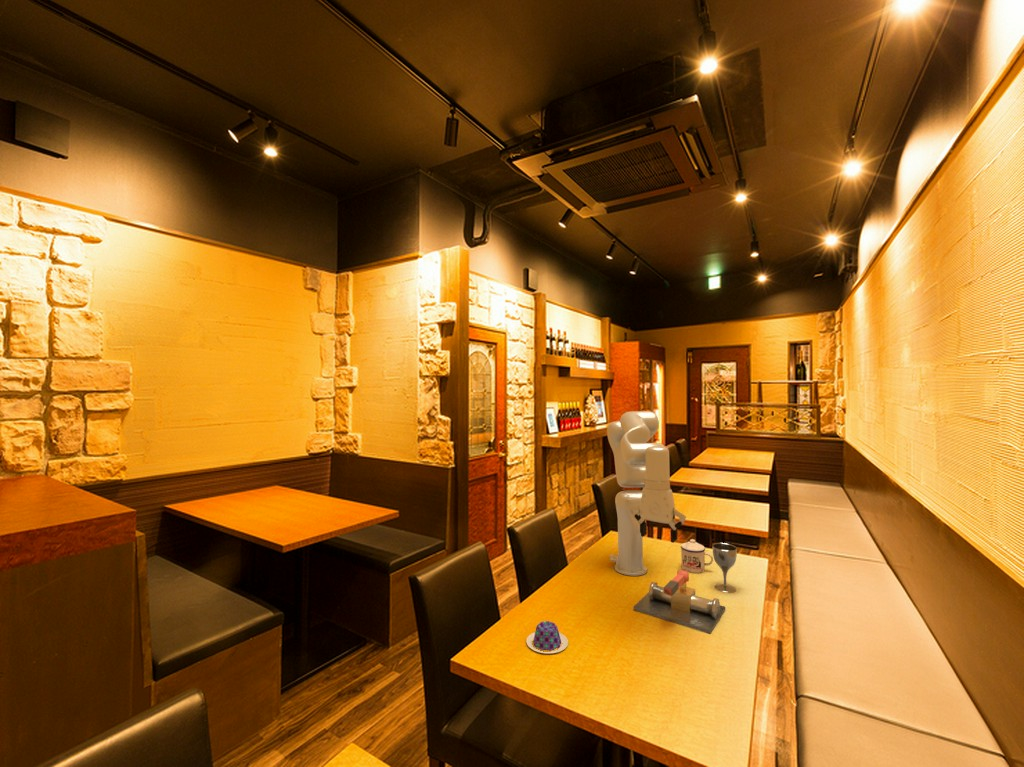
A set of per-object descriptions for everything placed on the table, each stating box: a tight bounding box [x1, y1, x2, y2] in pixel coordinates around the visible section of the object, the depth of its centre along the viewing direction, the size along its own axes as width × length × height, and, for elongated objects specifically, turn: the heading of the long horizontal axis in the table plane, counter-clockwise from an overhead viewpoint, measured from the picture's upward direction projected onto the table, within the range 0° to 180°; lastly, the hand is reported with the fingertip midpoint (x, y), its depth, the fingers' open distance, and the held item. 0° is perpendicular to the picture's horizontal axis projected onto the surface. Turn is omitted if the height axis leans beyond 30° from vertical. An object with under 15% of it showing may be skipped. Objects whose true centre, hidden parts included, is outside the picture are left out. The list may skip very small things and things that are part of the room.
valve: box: [632, 581, 726, 634], centre depth 148 cm, size 24×18×10 cm
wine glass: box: [712, 542, 738, 593], centre depth 163 cm, size 8×8×15 cm
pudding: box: [526, 620, 569, 654], centre depth 130 cm, size 12×12×5 cm
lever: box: [663, 569, 690, 596], centre depth 143 cm, size 16×4×2 cm, turn 142°
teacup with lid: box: [680, 538, 714, 574], centre depth 180 cm, size 12×9×12 cm
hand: (658, 538), depth 144 cm, fingers open, 9 cm apart
